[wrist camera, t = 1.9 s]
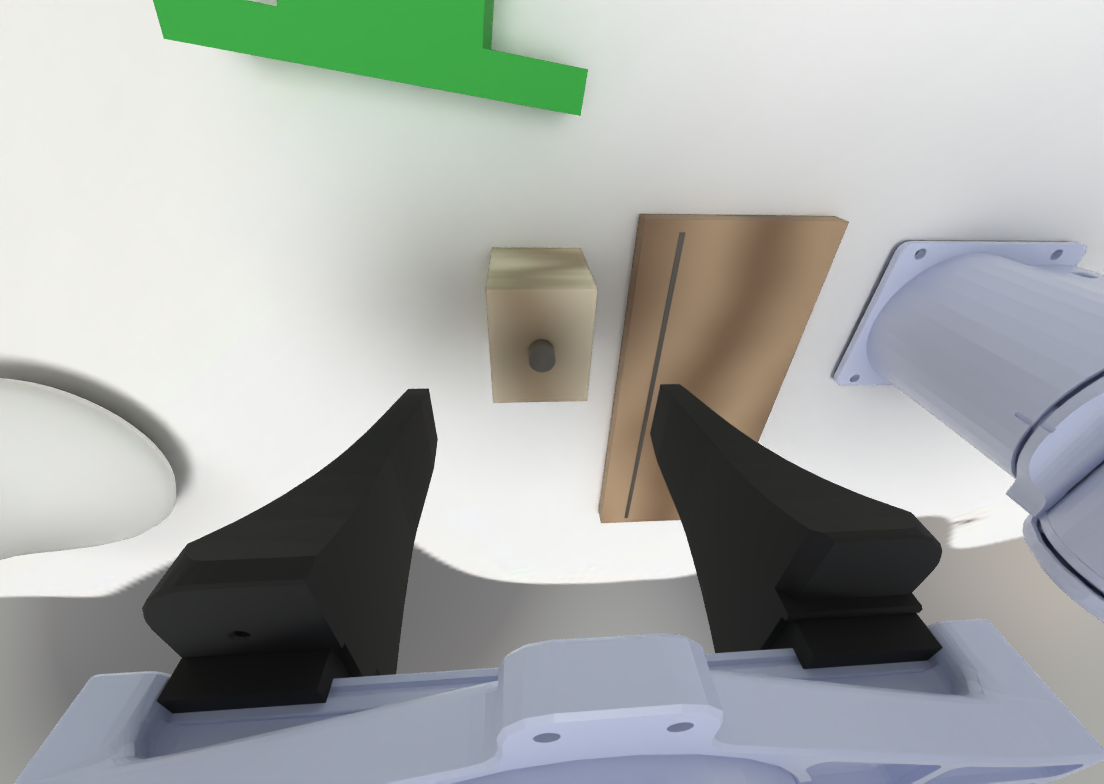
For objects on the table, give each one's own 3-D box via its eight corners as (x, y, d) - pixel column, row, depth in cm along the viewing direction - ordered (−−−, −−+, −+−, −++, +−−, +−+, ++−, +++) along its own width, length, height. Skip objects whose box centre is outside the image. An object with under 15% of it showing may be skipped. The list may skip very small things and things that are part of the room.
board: (834, 216, 19) (849, 221, 18) (721, 506, 31) (727, 518, 30) (639, 213, 18) (645, 219, 18) (598, 511, 30) (601, 523, 29)
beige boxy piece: (580, 247, 19) (601, 298, 15) (574, 344, 22) (589, 412, 17) (492, 247, 19) (483, 298, 14) (497, 344, 22) (492, 414, 17)
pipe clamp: (585, -21, 14) (611, -61, 10) (565, 110, 16) (582, 116, 13) (218, -108, 13) (94, -192, 9) (249, 52, 15) (160, 39, 11)
